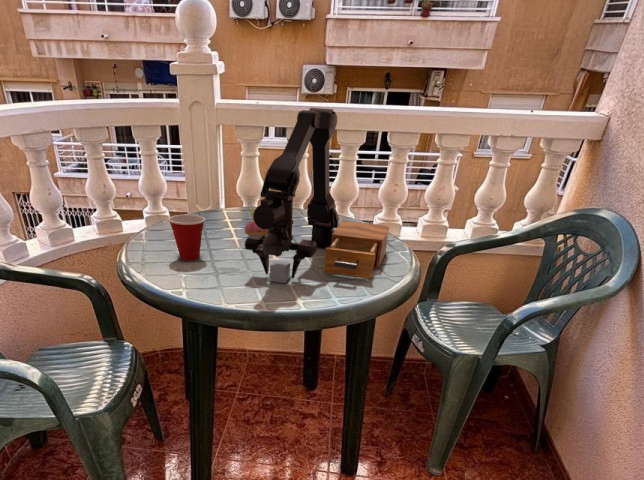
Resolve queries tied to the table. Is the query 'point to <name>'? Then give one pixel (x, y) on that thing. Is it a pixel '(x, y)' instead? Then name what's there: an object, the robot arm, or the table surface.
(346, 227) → the cabinet
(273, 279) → the block
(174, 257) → the table surface
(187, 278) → the table surface
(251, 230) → the cupcake
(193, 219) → the plastic cup
